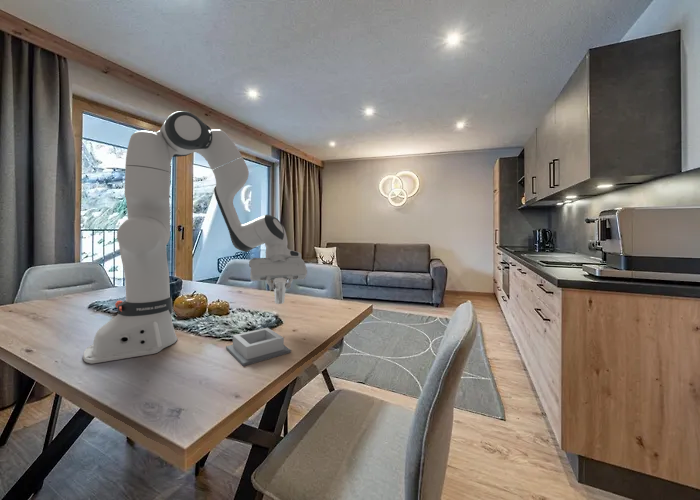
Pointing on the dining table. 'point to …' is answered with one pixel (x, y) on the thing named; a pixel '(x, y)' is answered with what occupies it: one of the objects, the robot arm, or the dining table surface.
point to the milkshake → (279, 289)
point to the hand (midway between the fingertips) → (280, 288)
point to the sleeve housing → (257, 346)
